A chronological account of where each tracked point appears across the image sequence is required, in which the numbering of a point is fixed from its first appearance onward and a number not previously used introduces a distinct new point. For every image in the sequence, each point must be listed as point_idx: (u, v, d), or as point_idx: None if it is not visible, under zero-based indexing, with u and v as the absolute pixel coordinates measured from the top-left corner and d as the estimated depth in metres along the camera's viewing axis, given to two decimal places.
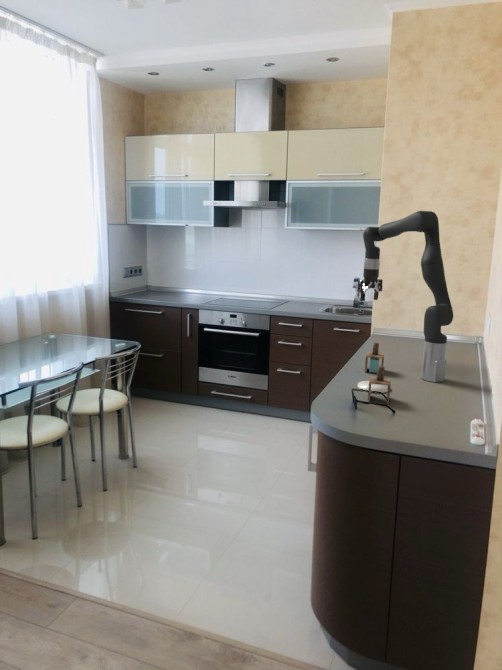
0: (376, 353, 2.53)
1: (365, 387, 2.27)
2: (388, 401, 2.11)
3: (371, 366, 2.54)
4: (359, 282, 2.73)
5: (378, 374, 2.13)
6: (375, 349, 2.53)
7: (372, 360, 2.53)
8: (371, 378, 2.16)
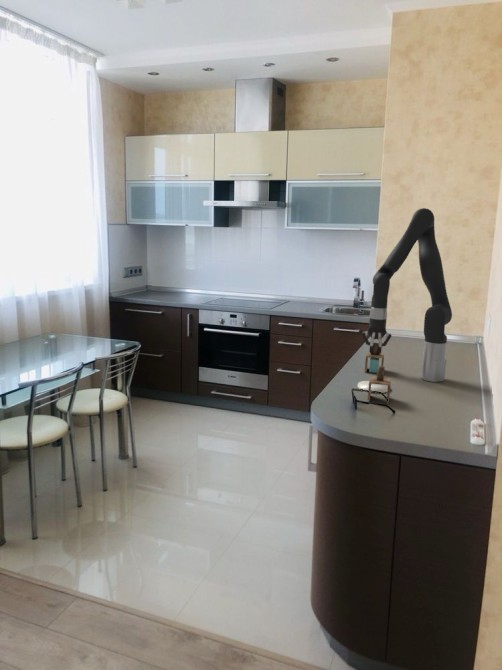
0: (376, 353, 2.53)
1: (365, 387, 2.27)
2: (388, 401, 2.11)
3: (371, 366, 2.54)
4: (390, 337, 2.51)
5: (378, 374, 2.13)
6: (375, 349, 2.52)
7: (372, 360, 2.53)
8: (371, 378, 2.16)
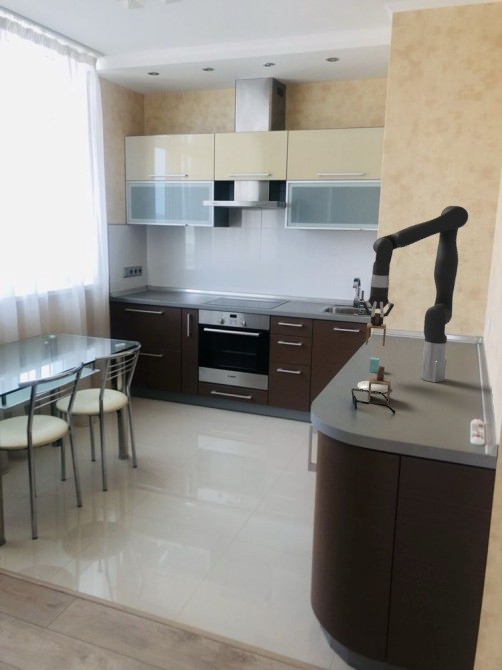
0: (378, 324, 2.39)
1: (365, 387, 2.27)
2: (388, 401, 2.11)
3: (371, 366, 2.54)
4: (392, 307, 2.37)
5: (378, 374, 2.13)
6: (377, 319, 2.39)
7: (372, 360, 2.53)
8: (371, 378, 2.16)
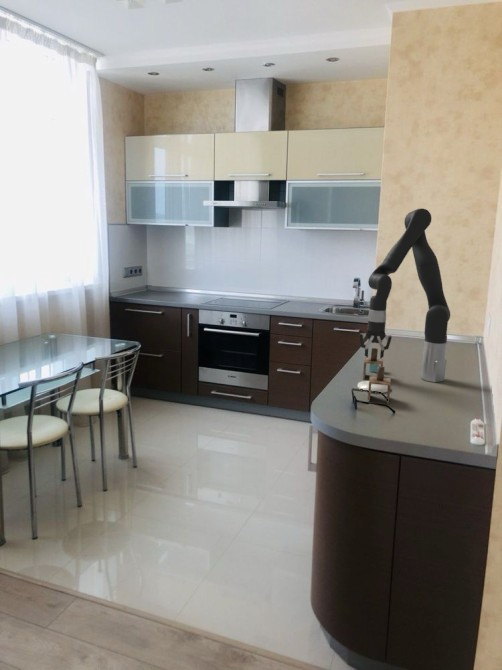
0: (375, 359, 2.42)
1: (365, 387, 2.27)
2: (388, 401, 2.11)
3: (371, 366, 2.54)
4: None
5: (378, 374, 2.13)
6: (374, 355, 2.42)
7: None
8: (371, 378, 2.16)
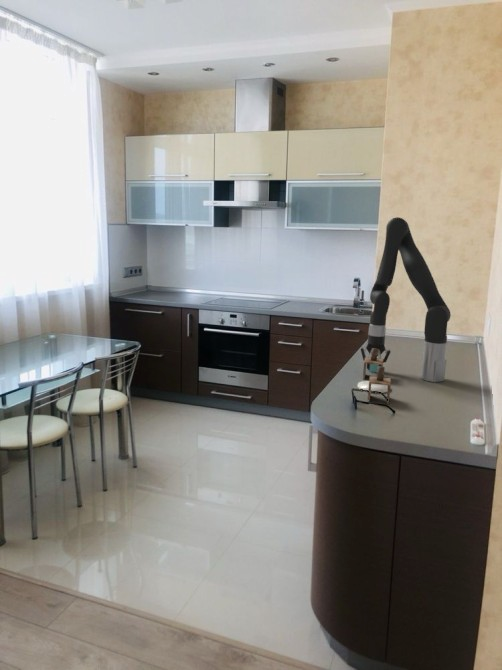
0: (375, 359, 2.42)
1: (365, 387, 2.27)
2: (388, 401, 2.11)
3: (371, 366, 2.54)
4: (389, 353, 2.52)
5: (378, 374, 2.13)
6: (374, 355, 2.42)
7: None
8: (371, 378, 2.16)
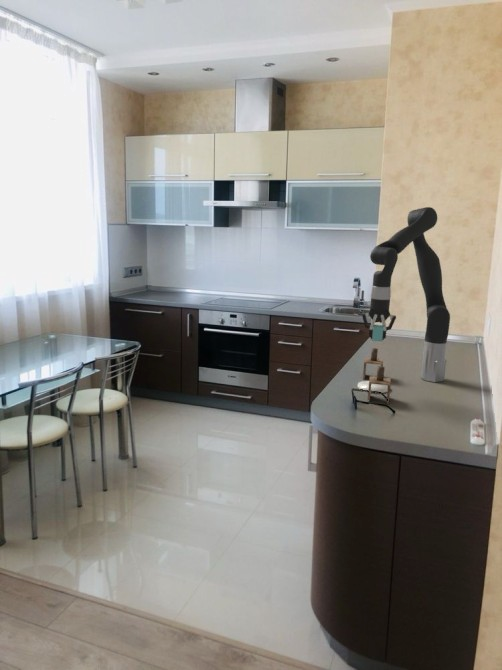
0: (375, 359, 2.42)
1: (365, 387, 2.27)
2: (388, 401, 2.11)
3: (374, 334, 2.24)
4: None
5: (378, 374, 2.13)
6: (374, 355, 2.42)
7: (375, 327, 2.23)
8: (371, 378, 2.16)
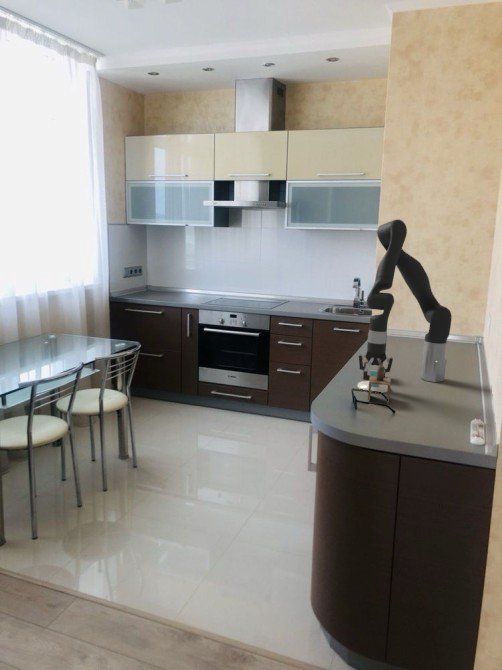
0: None
1: (365, 387, 2.27)
2: (388, 401, 2.11)
3: None
4: None
5: (378, 374, 2.13)
6: None
7: (372, 373, 2.27)
8: (371, 378, 2.16)
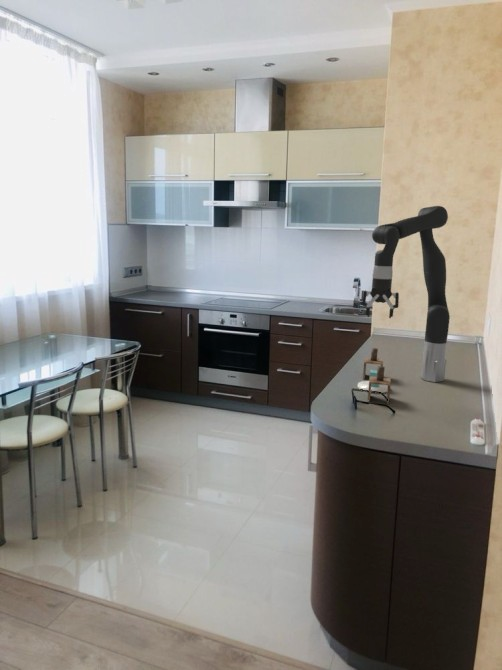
0: (375, 359, 2.42)
1: (365, 387, 2.27)
2: (388, 401, 2.11)
3: None
4: (398, 296, 2.20)
5: (378, 374, 2.13)
6: (374, 355, 2.42)
7: (372, 373, 2.27)
8: (371, 378, 2.16)
